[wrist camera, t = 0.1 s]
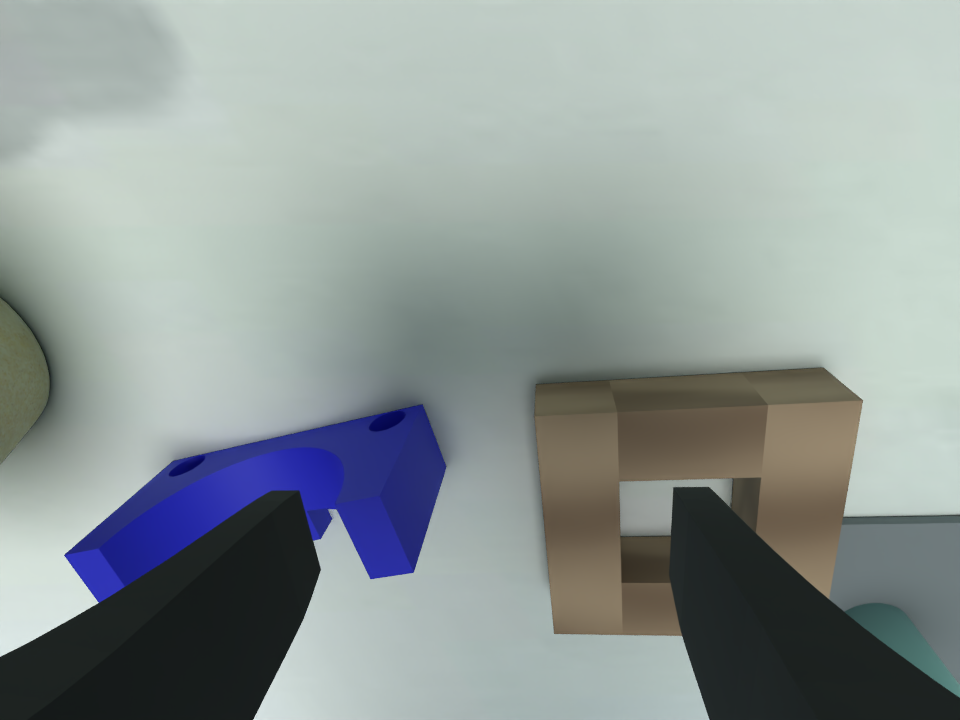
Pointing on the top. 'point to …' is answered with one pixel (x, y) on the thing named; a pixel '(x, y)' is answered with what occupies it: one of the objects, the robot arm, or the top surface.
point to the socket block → (679, 456)
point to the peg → (903, 640)
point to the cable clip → (282, 466)
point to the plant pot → (19, 379)
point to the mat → (905, 574)
